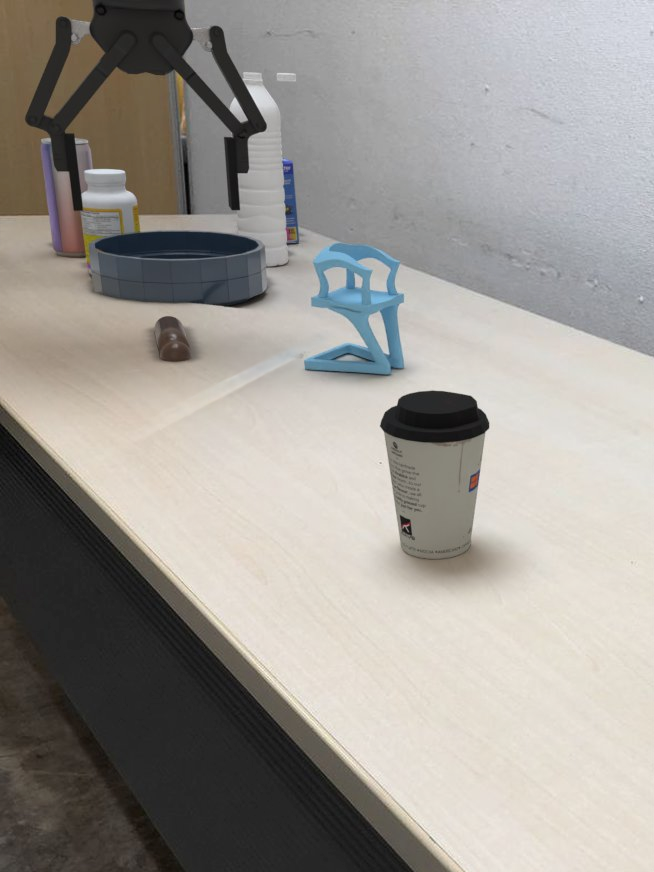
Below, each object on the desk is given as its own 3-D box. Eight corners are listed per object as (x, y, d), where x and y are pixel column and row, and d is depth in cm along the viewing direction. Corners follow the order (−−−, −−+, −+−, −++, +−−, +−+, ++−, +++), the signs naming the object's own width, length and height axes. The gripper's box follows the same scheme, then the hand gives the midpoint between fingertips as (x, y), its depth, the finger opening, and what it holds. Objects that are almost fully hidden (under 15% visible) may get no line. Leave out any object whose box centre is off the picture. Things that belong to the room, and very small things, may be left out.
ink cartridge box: (239, 234, 174) (232, 137, 169) (274, 232, 177) (268, 137, 172) (265, 245, 167) (258, 144, 162) (300, 243, 170) (295, 144, 165)
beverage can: (43, 254, 151) (28, 139, 146) (74, 247, 157) (61, 136, 151) (82, 259, 150) (68, 143, 145) (111, 252, 156) (99, 140, 150)
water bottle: (238, 267, 152) (225, 71, 143) (239, 257, 158) (226, 69, 148) (305, 267, 154) (296, 75, 145) (304, 258, 160) (295, 72, 151)
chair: (376, 381, 108) (373, 257, 103) (302, 368, 110) (296, 246, 106) (416, 362, 115) (415, 245, 110) (346, 350, 117) (342, 235, 113)
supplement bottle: (123, 266, 148) (112, 166, 143) (156, 274, 145) (146, 172, 140) (76, 273, 142) (63, 169, 137) (109, 282, 139) (97, 175, 134)
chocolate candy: (155, 340, 116) (151, 314, 115) (184, 338, 118) (180, 312, 116) (163, 375, 106) (159, 346, 105) (194, 372, 107) (190, 343, 106)
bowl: (57, 301, 128) (50, 249, 126) (157, 271, 146) (152, 225, 144) (212, 319, 125) (208, 266, 123) (295, 286, 143) (292, 239, 141)
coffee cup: (386, 570, 71) (383, 421, 67) (378, 525, 77) (375, 387, 73) (496, 563, 73) (498, 417, 69) (479, 520, 79) (481, 384, 75)
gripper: (-33, -54, 90) (5, 215, 97) (289, -28, 100) (301, 214, 108) (-26, -50, 96) (10, 202, 104) (277, -26, 106) (288, 202, 114)
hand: (158, 208), depth 106 cm, fingers open, 13 cm apart
